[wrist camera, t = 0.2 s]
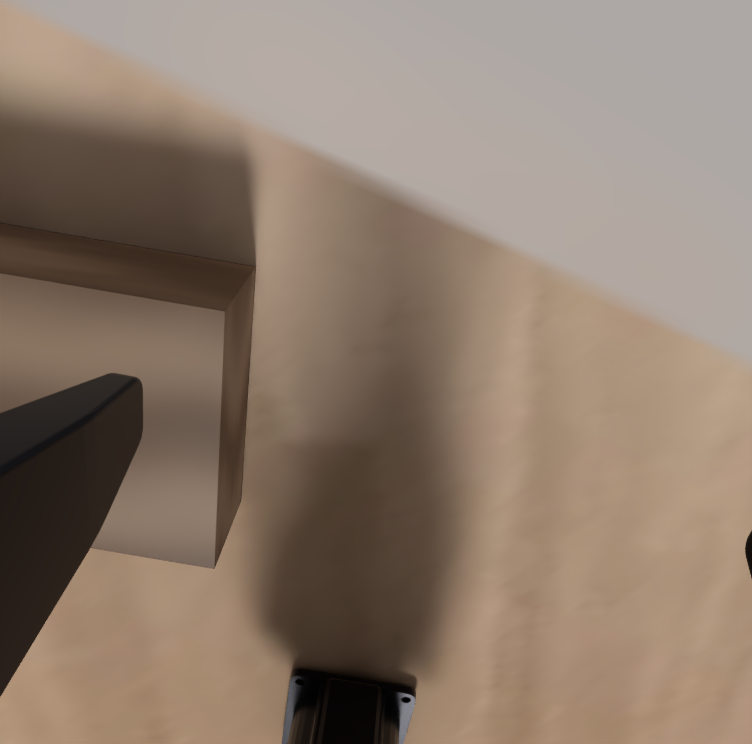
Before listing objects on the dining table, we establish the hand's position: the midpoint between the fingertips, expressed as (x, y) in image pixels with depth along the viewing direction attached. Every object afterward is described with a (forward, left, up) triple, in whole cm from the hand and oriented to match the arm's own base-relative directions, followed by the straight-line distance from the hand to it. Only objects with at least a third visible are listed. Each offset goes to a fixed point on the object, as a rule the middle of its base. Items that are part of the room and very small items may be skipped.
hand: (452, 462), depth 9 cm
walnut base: (-9, +12, -15) cm, 21 cm away
